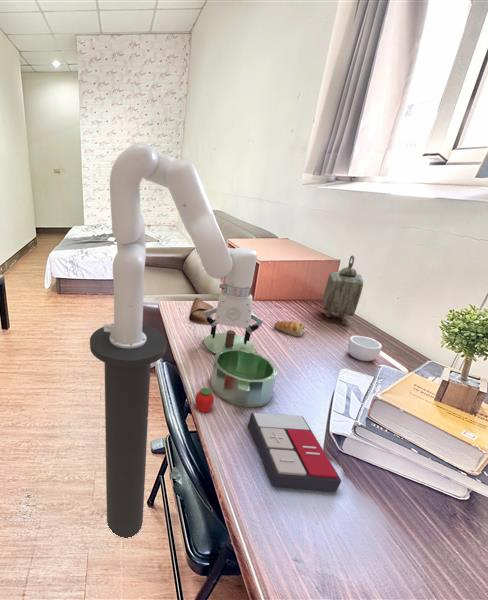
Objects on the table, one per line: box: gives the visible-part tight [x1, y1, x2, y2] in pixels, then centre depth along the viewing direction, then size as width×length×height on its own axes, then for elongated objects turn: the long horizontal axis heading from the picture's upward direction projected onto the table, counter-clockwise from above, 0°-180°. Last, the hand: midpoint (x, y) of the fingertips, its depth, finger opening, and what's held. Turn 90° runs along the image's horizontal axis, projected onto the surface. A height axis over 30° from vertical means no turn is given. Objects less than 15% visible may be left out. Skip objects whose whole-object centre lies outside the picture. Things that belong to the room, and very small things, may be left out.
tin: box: [210, 347, 278, 408], centre depth 80 cm, size 15×20×8 cm
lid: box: [203, 329, 256, 355], centre depth 100 cm, size 16×16×6 cm
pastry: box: [274, 320, 306, 337], centre depth 111 cm, size 9×7×4 cm
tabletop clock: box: [322, 255, 364, 326], centre depth 116 cm, size 14×9×25 cm, turn 150°
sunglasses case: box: [188, 297, 214, 325], centre depth 124 cm, size 18×7×7 cm
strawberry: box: [195, 387, 215, 413], centre depth 74 cm, size 4×4×5 cm
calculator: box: [247, 412, 342, 493], centre depth 61 cm, size 11×4×15 cm
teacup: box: [347, 335, 383, 362], centre depth 95 cm, size 10×8×5 cm
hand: (229, 339), depth 100 cm, fingers open, 9 cm apart
